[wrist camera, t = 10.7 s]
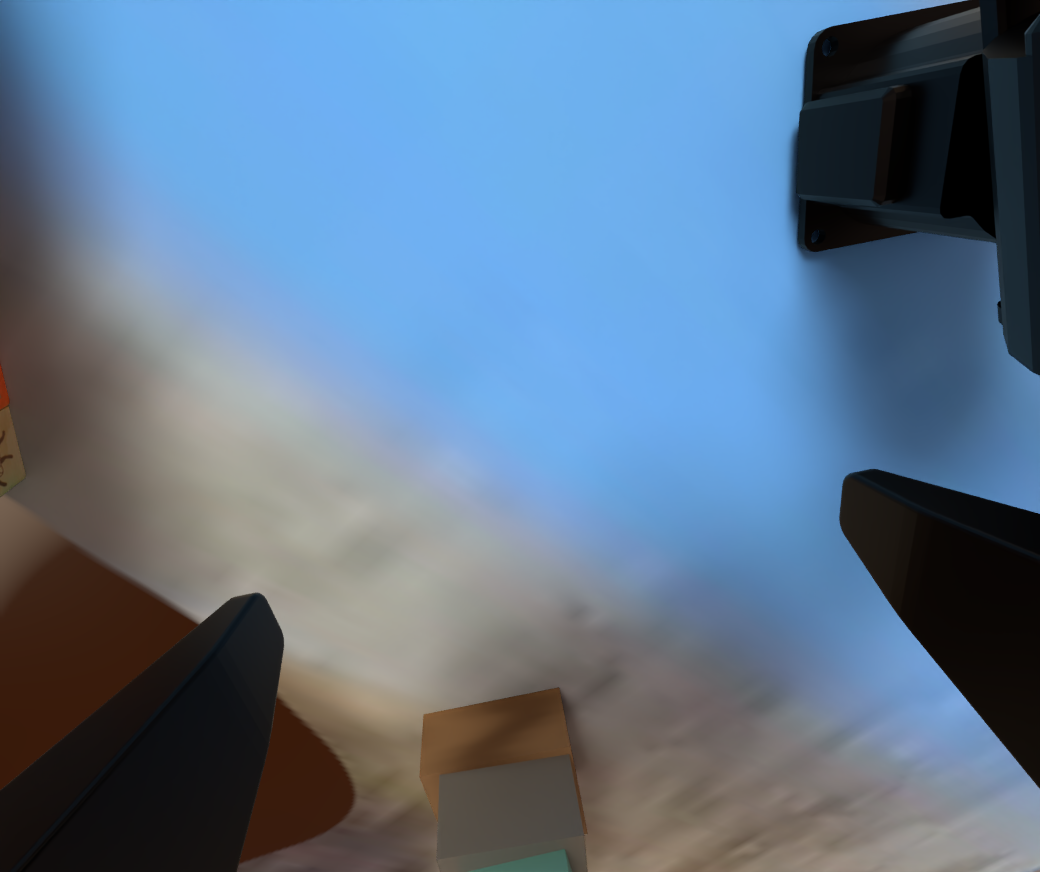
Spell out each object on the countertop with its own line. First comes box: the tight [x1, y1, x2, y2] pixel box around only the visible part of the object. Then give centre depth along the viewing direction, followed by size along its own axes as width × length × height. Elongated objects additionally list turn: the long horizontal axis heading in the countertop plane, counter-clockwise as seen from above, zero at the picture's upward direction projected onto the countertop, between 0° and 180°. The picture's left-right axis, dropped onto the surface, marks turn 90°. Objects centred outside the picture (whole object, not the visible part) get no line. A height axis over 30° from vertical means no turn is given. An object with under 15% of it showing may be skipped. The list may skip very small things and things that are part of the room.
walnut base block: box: [420, 688, 588, 834], centre depth 29 cm, size 7×7×4 cm
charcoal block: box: [437, 754, 587, 872], centre depth 26 cm, size 6×6×4 cm
